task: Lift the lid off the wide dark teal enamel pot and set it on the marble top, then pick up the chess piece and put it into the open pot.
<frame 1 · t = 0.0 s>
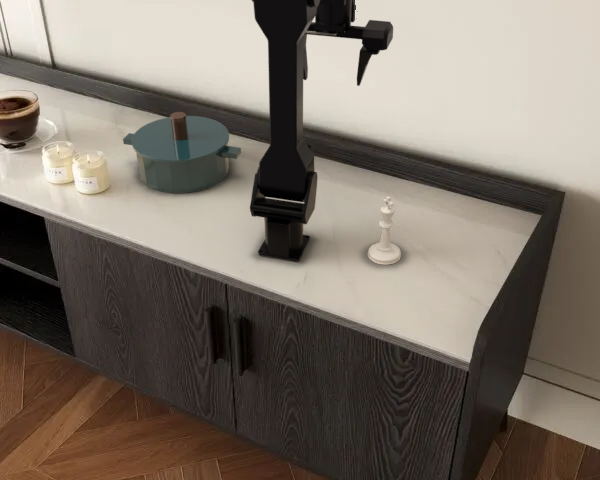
hand: (332, 82, 128), 15 cm above the sideboard, tool pointing down, fingers open, 9 cm apart
chess piece: (384, 256, 114), on the sideboard
lid: (180, 139, 131), point 6 cm above the sideboard, touching pot
pot: (184, 170, 134), on the sideboard
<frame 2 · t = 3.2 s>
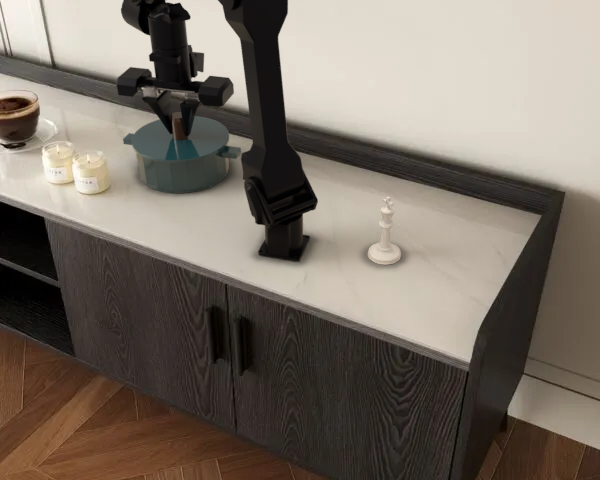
hand: (180, 134, 130), 7 cm above the sideboard, tool pointing down, fingers closed on lid, 3 cm apart
lid: (180, 139, 131), point 6 cm above the sideboard, touching gripper, pot
everything else where it was.
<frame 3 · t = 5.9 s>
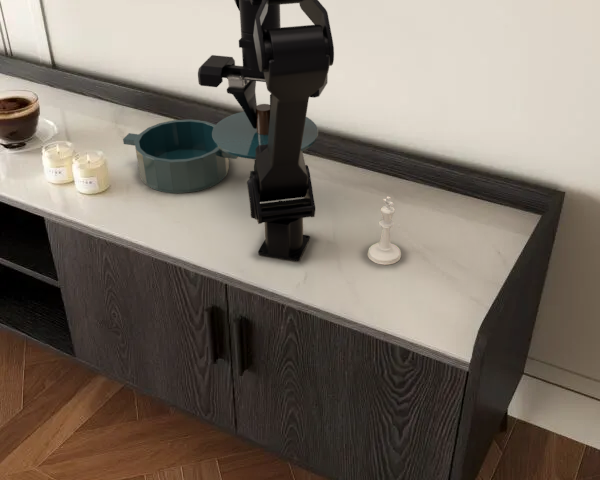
hand: (264, 128, 119), 13 cm above the sideboard, tool pointing down, fingers closed on lid, 3 cm apart
lid: (265, 134, 119), point 12 cm above the sideboard, touching gripper
everything else where it was.
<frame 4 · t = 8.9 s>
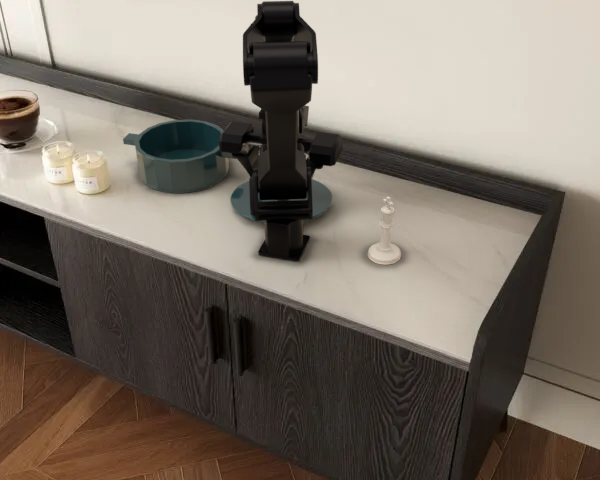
hand: (282, 190, 124), 2 cm above the sideboard, tool pointing down, fingers open, 7 cm apart
lid: (281, 199, 125), point 1 cm above the sideboard, touching arm
everything else where it was.
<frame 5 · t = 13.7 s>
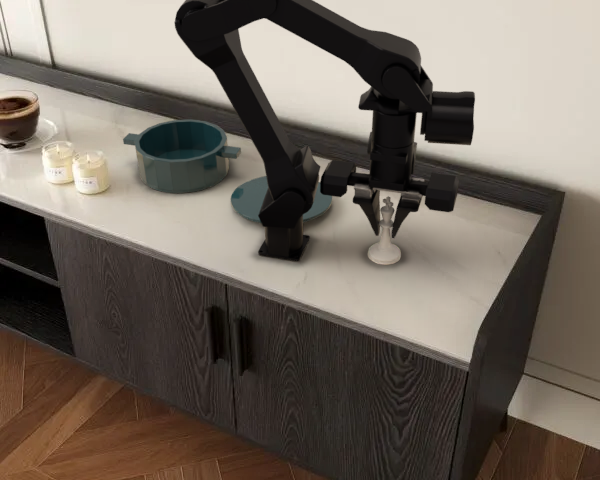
hand: (385, 235, 112), 4 cm above the sideboard, tool pointing down, fingers closed on chess piece
chess piece: (384, 256, 114), on the sideboard, touching gripper
everything else where it was.
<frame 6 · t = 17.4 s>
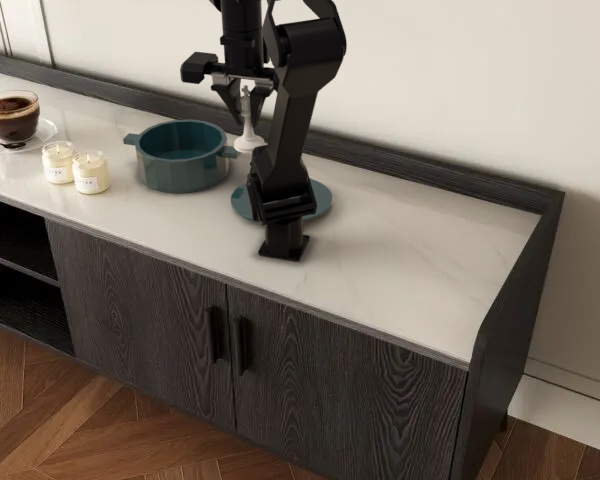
hand: (247, 125, 119), 13 cm above the sideboard, tool pointing down, fingers closed on chess piece
chess piece: (249, 147, 121), point 9 cm above the sideboard, touching gripper
everything else where it was.
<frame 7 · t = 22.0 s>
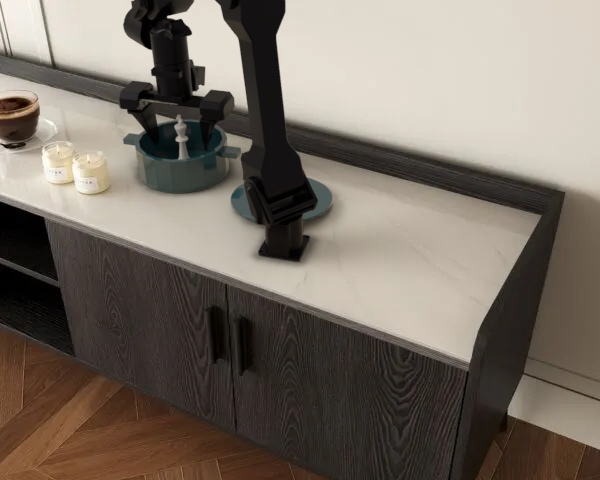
hand: (181, 146, 132), 5 cm above the sideboard, tool pointing down, fingers open, 9 cm apart
chess piece: (185, 168, 134), resting on pot
everything else where it was.
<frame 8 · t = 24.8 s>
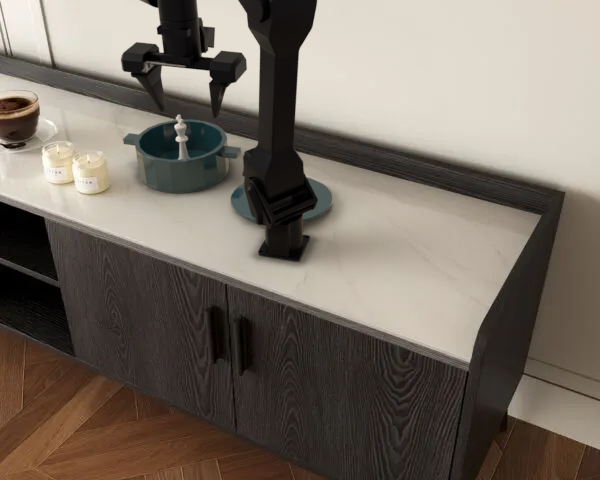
hand: (189, 113, 122), 13 cm above the sideboard, tool pointing down, fingers open, 9 cm apart
nothing on the sideboard moved.
at the end: lid inside the target area (0.5 cm from its centre), point 1.0 cm above the sideboard; chess piece inside the target area in the pot (0.2 cm from its centre), point 0.3 cm above the pot's base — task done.
